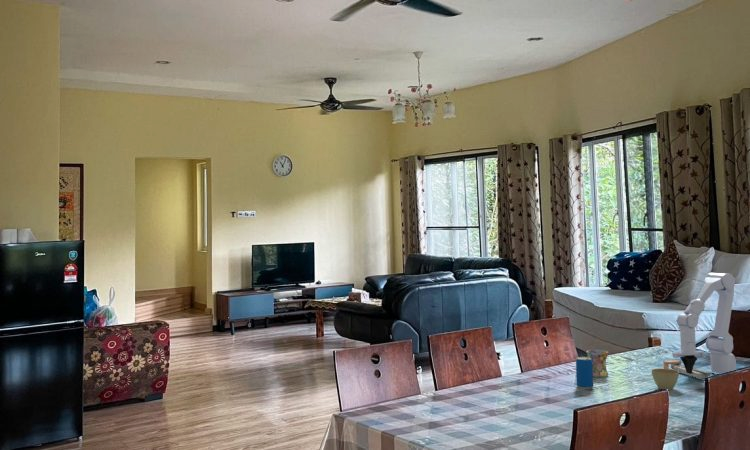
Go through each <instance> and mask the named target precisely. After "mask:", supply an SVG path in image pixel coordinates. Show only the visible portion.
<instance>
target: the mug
mask: <svg viewBox="0 0 750 450" xmlns="http://www.w3.org/2000/svg"><path fill="white" fill-rule="evenodd" d="M585 353H586V355H587V356H586V357H589V358H591V360H592V362H593V378H595V377H596V378H604V377H607V376H609V373H608V369H607V359H608V358H607V357H608V355H609V351H607V350H601V349H589V350H586V352H585Z"/></svg>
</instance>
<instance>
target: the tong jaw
mask: <svg viewBox="0 0 750 450" xmlns="http://www.w3.org/2000/svg"><path fill="white" fill-rule="evenodd" d="M677 371H678V372H679V374H683V375H687V376H689V377H692V376H693V377H692V378H695V377H696V378H695V379H698V380H700V379H702V380H706V379H705V378H706V374H703V373H699V372H696V371H693V370H692V374H689V373H687V372H686V369H685V368H683V367H677Z"/></svg>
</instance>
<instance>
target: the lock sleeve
mask: <svg viewBox="0 0 750 450" xmlns="http://www.w3.org/2000/svg"><path fill="white" fill-rule="evenodd" d="M681 363H682V360H679V359H678V360H677V359H676V360H675V359H674V360H664V361H663V369H670V368H669V365H671V364H679V365H682V364H681Z"/></svg>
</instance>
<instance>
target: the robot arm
mask: <svg viewBox="0 0 750 450" xmlns="http://www.w3.org/2000/svg"><path fill="white" fill-rule="evenodd" d="M735 285H736V278H734V276H733V275H732V274H731V273H729V272H725V273H723V272H708V274H707V275H706V277H705V278H704V285H703V286H702V288H701V291H700V292H699V294H698V296H697V297H696V299H692V300H690V302H689V304H688V306H687V307H686V308H685V309H684V311H683V313H680V314H679V315H678V316H677V318H676V324H677V325H678V329H679V333H680V334H679V335H680V350H679V351H675V352H672V358H675V359H678V358H679V359H680V361H681V363H683V366H685V369H686V372H687V373H689V374H692V370H693V368H694V366H695V364H696V362H697V361H698V357H699V356H700V357H701V356H703V357H704V356H705V351H704V350H697V347H696V327H697V326H698V324H699V319H700V316H701V314H702V313H703V312H704V309H705V308H706V305H705V303H706V302H707V300H708V299H709V298H710V297H711V296H712V294H713V293H714V292H716V293H717V294H718V302H717V308H716V315H715V321H714V326H713V327H714V328H713V330H712V331H710V332H709V333H708V335H707V338H706V340H705V347H706V349H707V350H708V353H710V371H712V372H716V373H719V374H720V373H725V372H729V371H734V370H736V371H737V362H736V356H735V355H734V354H733V353H732V352H733V351H734V342H733V341H734V337H733V336H732V334H730V332H729V329H730V322H731V317H732V316H731V315H732V309H733V301H734V296H735V291H734V290H735ZM715 375H716V376H718V375H717V374H715Z"/></svg>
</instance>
